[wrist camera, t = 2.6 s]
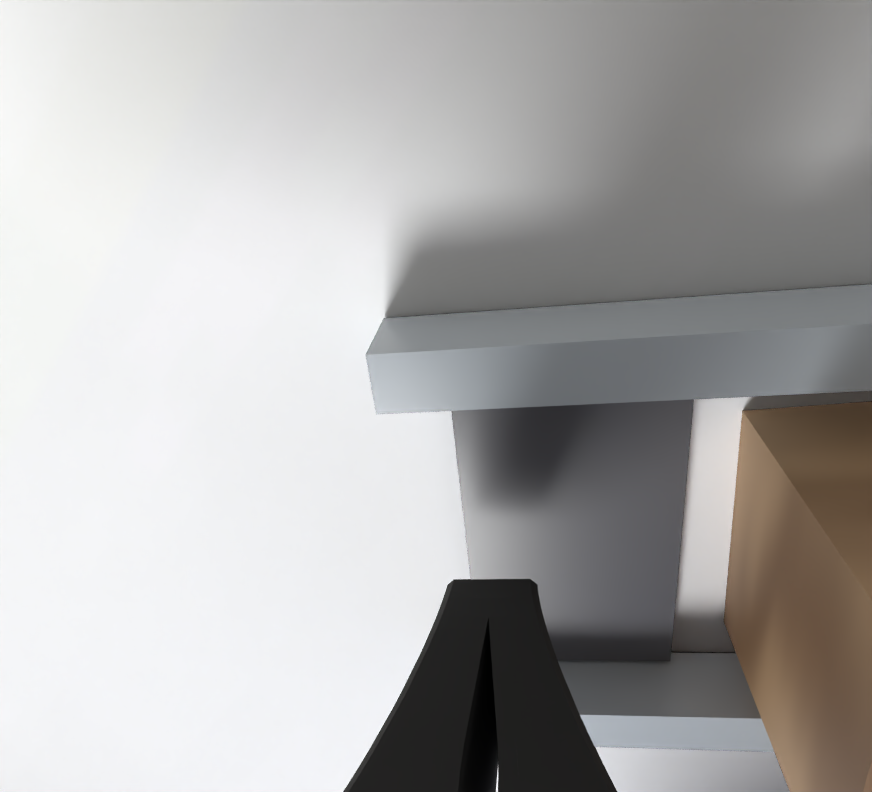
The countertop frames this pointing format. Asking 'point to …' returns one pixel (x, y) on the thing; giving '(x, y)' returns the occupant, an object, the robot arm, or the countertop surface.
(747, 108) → the countertop surface
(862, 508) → the brown rectangular block
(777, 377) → the channel
